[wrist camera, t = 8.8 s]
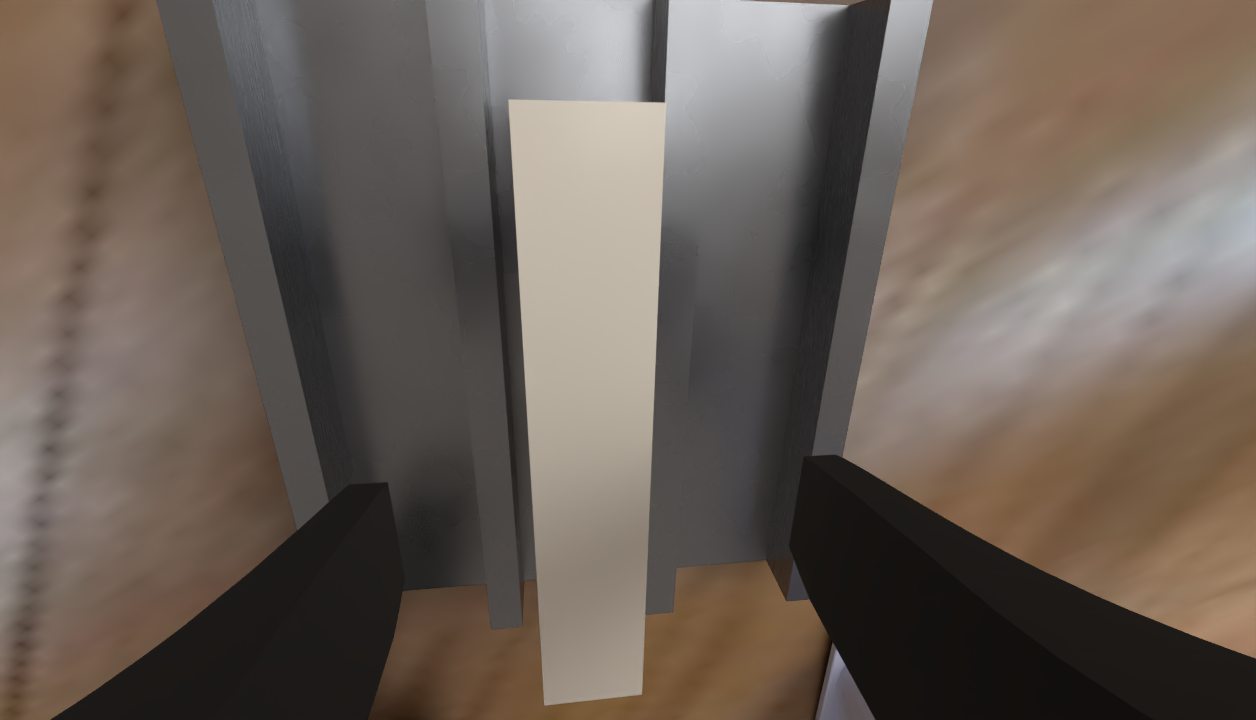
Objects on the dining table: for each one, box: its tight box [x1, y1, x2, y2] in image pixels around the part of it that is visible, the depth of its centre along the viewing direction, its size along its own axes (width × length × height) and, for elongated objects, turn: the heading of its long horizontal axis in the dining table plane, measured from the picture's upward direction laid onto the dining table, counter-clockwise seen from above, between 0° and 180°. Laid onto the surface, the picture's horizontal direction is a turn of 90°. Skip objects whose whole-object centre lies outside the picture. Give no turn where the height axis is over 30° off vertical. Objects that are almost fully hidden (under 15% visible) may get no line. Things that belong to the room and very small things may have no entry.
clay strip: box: [508, 99, 666, 706], centre depth 15 cm, size 14×2×6 cm, turn 179°
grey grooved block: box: [156, 0, 933, 629], centre depth 17 cm, size 18×16×3 cm
